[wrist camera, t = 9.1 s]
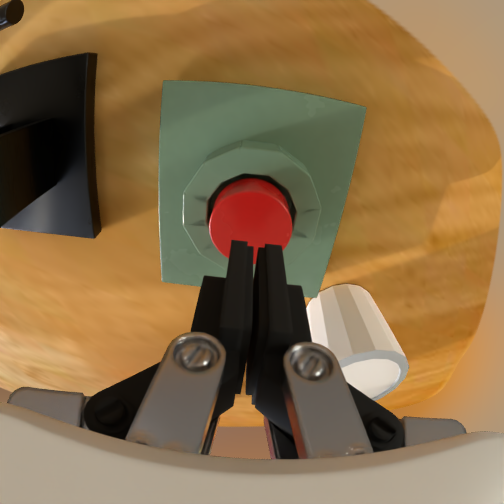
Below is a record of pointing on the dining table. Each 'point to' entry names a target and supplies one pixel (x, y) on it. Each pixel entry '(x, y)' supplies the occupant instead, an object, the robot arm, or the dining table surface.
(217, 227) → the button
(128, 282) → the dining table surface
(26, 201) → the bracket
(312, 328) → the white cup
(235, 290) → the robot arm
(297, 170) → the button box
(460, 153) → the dining table surface
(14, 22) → the lever
